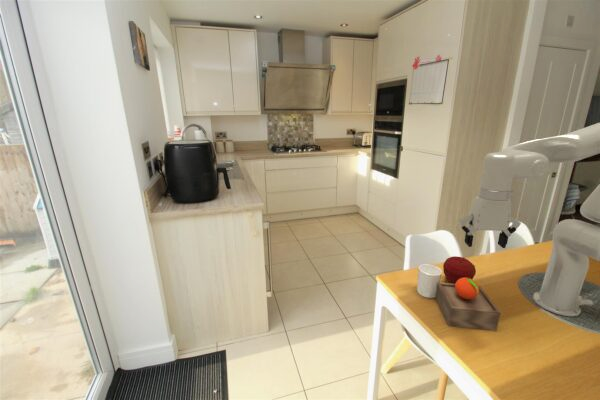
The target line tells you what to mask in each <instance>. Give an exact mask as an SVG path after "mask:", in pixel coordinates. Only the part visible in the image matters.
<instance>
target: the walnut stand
mask: <svg viewBox="0 0 600 400" xmlns="http://www.w3.org/2000/svg"><path fill="white" fill-rule="evenodd" d="M478 287H479V293H478V295H477V296H476V297H475V298H473V299H464V298H462V297H461V296H459V295H458V294H457V292H456V290H455V284H451V283H450V282H440V283H438V284H437V290H436V297H434V298H435V301H436V303H437V305H438V307H439V310H440V311H441V313H442V316H443V317H444V320H445V322H446V324H447V326H450V327H458V328H467V329H475V330H484V331H493V332H494V331H495V332H497V329H498V324H499V320H500V316H501V311H500V310H499V309H498V307H497V306H496V305H495V303H494V302H493V301H492V300H491V299H490V297H489V296H488V294H487V293H486V291H484V289H483V288H482V286H480V285H478Z"/></svg>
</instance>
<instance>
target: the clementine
mask: <svg viewBox="0 0 600 400" xmlns="http://www.w3.org/2000/svg"><path fill="white" fill-rule="evenodd" d="M478 286H479V284H478V283H477V282H476V281H475V280H474V279H471V278H466V277H465V278H460V279H459V280H458V281H457V282H456V284H455V290H456V292H457V294H458V295H459V296H461V297H462V298H464V299H473V298H475V297H476V296H477V295H478V293H479V287H478Z"/></svg>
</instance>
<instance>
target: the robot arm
mask: <svg viewBox="0 0 600 400" xmlns="http://www.w3.org/2000/svg"><path fill="white" fill-rule="evenodd" d="M598 154H600V122H597V123H594V124H591V125H589V126H586V127H583V128H580V129H577V130H575V131H572V132H568V133H564V134H560V135H559V134H558V135H555V136H548V137H545V138H538V139H534V140H532V139H531V140H528V141H524V142H520V143H517V144H514V145H511V146H508V147H506V148H503V149H502V150H501V151H499V152H497V151H496V152H489V153H487V154H486V155H485V157H484V161H483V165H482V166H483V167H482V173H481V178H480V179H481V180H480V186H479V191H478V196H475V197H474V199H473V201H472V204H471V208H470V210H469V211H470V212H469V215H468V216H465V217H463V218H460V219H458V221H457V222H458V224H459V226H460V228H461V229H462V230H463V232H465V235H464V243H465V244H466V245H467V247H468V248H471V247H473V240H474V235H473V234H474V233H476V232H477V231H490V232H491V231H493V232H495V231H496V232H499V231H500V232H499V236H498V241H497V244H498V245H499V247H501V248H502V249H505V248H506V247H507V245H508V241H509V237H511V236H512V234H513V233H515V232H516V231H517V229H518V228H519V227H520V226H521V224H522V223H521V222H520V221H518V220H517V219H515V218H513V217H512V202H511V201H512V200H511V199H510V197H511V196H514V195H515V190H512V189H511V187H512V182H513V179H514V178H517V179H529V180H530V179H538V178H540V177H541V176H544V175H545V174H546V173H547V172H548V171H549V169H550V163H557V164H558V163H574V162H578V161H581V160H584V159H586V158H590V157H593V156H595V155H596V156H597V155H598ZM579 212H580V214H581V216H582V217H583V218H586V219H588V220H590V221H593V222H594V223H598V224H600V183H599V184H598V185H597V186H596V188H595V189H594V190H593V191H592V192H591V193H590V194H589V195H588V197H587V198H586V199H585V201H583V203H582V204H581V205H580V209H579ZM466 223H467V224H469V225H468V226H466ZM510 224H511V225H510ZM589 258H591V259H593V260H595V261H598V262H600V226H598V225H596V224H592V223H589V222H586V221H583V220H581V219H580V220H579V219H573V218H572V219H571V218H568V219H567V218H566V219H563V220H561V221H559V222H558V223H556V225H555V226H554V228H553V231H552V248H551V253H550V257H549V260H548V264H547V266H546V271H545V274H544V278H543V281H542V284H541V286H540V287H541V288H540V291H536V292H534V293H533V295H532V299H533V301H534V302H535V303H536V305H538V306H539V307H541V308H542V309H545V310H546V311H548V312H552V313H554V314H556V315H560V316H565V317H578V316H579V315H580V314H581V313H582V309H581V307H580V306H589V307H592V306H593V305H594V301H593V300H591V299H583V296H581V295H580V294H581V292H582V287H583V285H584V282H585V279H586V277H587V273H588V270H589V267H590V261H589V260H590V259H589Z"/></svg>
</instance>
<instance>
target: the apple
mask: <svg viewBox="0 0 600 400" xmlns="http://www.w3.org/2000/svg"><path fill="white" fill-rule="evenodd" d="M442 268H443V269H442V271H443V273H444V277H445V279H446V280H447V281H448V283H450V284H456V282H457V281H458V280H459V279H460V278H465V277H466V278H471V279H472V280H474V277H475V275H476V272H477V271H476V265H474V264H473V263H472V262H471V261H470V260H469V259H468V258H465V257H462V256H449V257H448V258H446V260H445V261H444V262H443V265H442Z"/></svg>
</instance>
